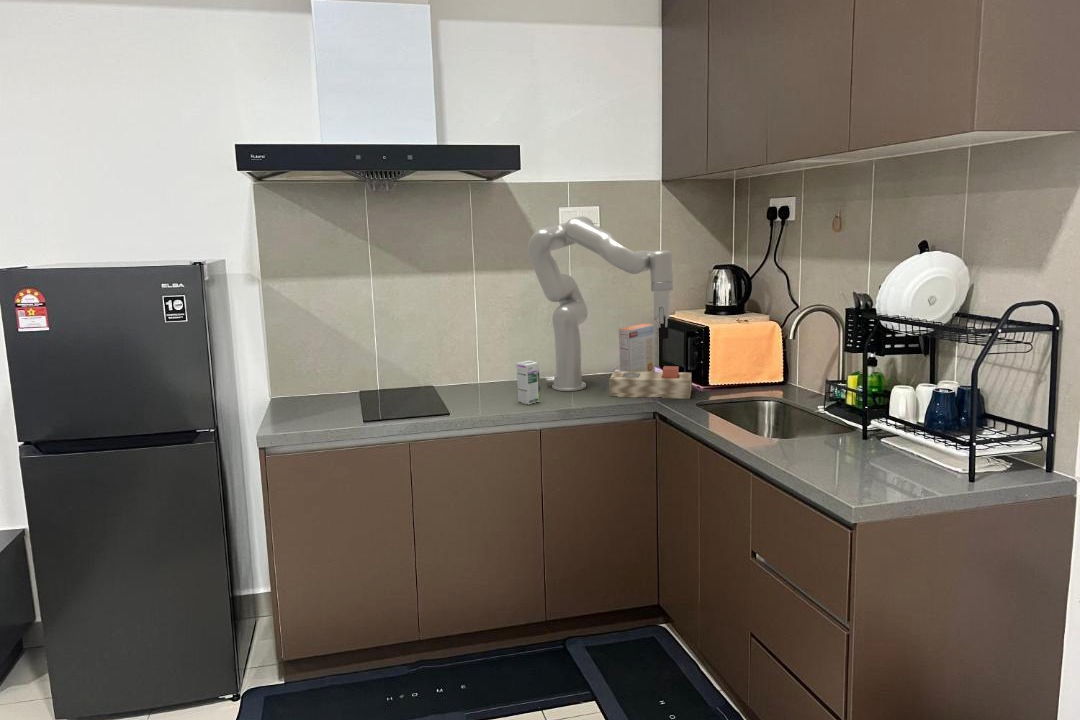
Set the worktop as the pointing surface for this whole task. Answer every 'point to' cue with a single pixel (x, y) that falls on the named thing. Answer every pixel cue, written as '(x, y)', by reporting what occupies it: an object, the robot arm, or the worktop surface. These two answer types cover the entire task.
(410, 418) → the worktop surface
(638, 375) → the grey cube
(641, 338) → the cracker box
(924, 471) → the worktop surface
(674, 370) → the red cube
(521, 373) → the syrup box
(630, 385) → the beige woven basket
